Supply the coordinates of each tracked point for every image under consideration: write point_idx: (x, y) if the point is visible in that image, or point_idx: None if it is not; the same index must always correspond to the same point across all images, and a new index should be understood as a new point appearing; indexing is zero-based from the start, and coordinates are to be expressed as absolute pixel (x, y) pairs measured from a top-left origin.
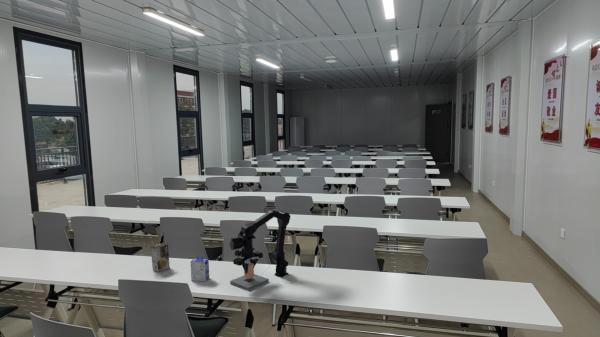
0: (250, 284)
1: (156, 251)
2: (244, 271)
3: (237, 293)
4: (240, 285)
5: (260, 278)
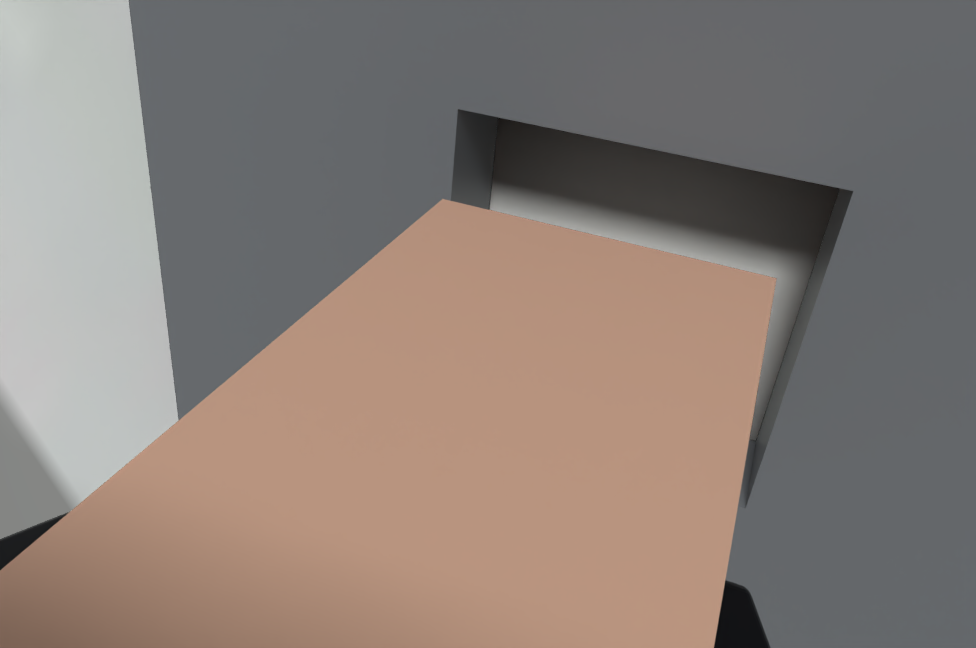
0: None
1: None
2: (277, 362)
3: (26, 338)
4: (174, 258)
5: (926, 618)
